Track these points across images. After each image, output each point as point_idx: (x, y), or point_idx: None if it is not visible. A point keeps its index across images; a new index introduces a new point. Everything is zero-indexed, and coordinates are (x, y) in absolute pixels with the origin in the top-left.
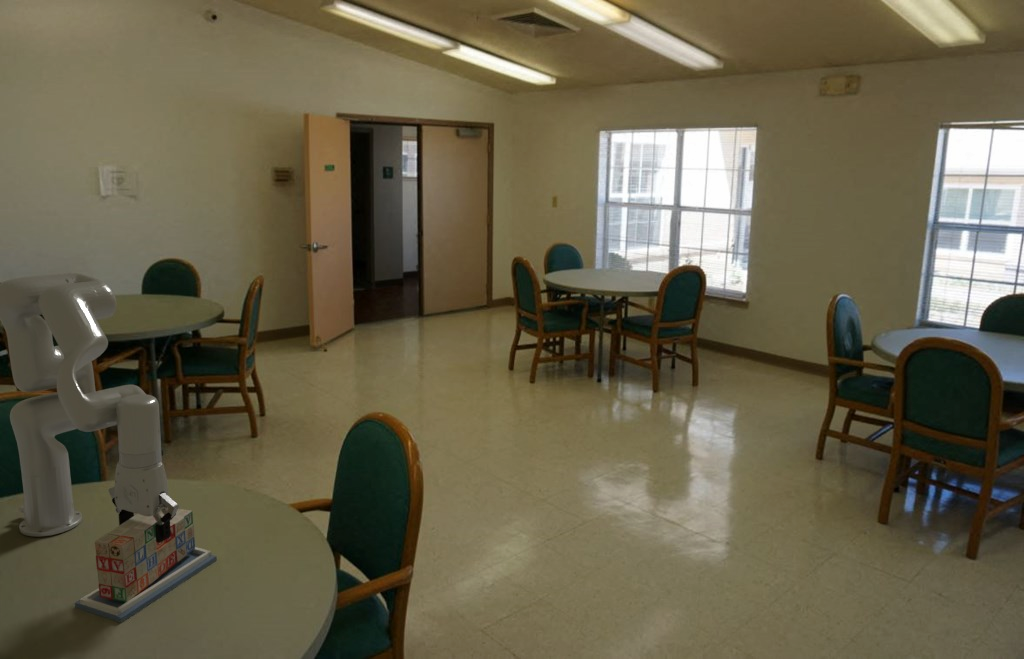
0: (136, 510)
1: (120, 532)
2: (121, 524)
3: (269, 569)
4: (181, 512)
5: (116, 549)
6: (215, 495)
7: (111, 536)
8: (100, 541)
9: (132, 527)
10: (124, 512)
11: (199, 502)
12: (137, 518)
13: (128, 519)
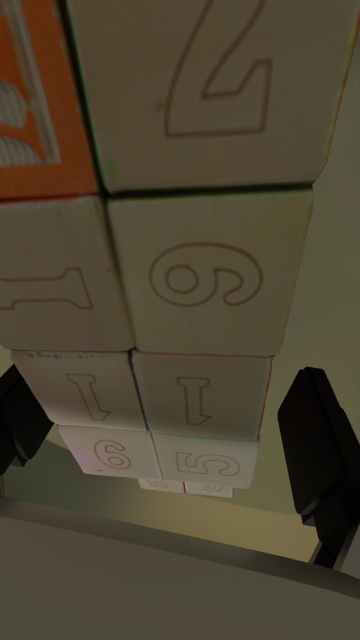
0: (34, 587)
1: (160, 266)
2: (262, 383)
3: (11, 360)
4: (164, 482)
5: None
6: (269, 496)
7: (188, 128)
8: None
9: (133, 364)
10: (334, 496)
11: (283, 484)
12: (206, 452)
13: (298, 441)
